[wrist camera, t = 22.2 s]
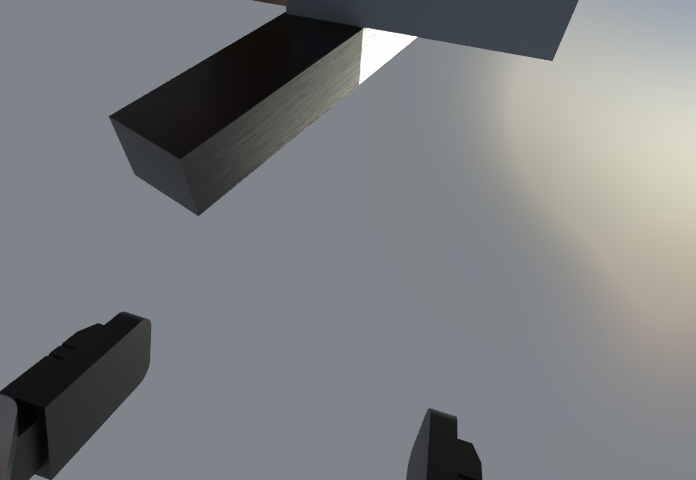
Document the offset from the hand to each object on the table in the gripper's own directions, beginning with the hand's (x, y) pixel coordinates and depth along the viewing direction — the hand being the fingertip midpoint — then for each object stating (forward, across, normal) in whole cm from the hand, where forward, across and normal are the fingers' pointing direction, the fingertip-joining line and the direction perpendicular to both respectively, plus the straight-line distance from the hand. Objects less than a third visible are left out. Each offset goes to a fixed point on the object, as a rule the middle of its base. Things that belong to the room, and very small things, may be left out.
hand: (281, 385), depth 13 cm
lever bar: (+12, -2, +11) cm, 16 cm away
